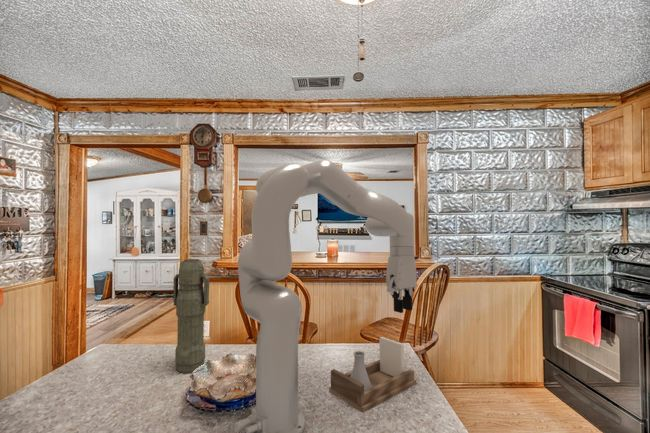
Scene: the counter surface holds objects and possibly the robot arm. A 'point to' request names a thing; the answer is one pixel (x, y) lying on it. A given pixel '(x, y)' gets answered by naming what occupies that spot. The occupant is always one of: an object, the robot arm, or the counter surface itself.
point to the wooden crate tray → (380, 391)
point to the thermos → (190, 315)
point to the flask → (360, 370)
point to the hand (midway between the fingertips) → (403, 310)
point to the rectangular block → (391, 357)
